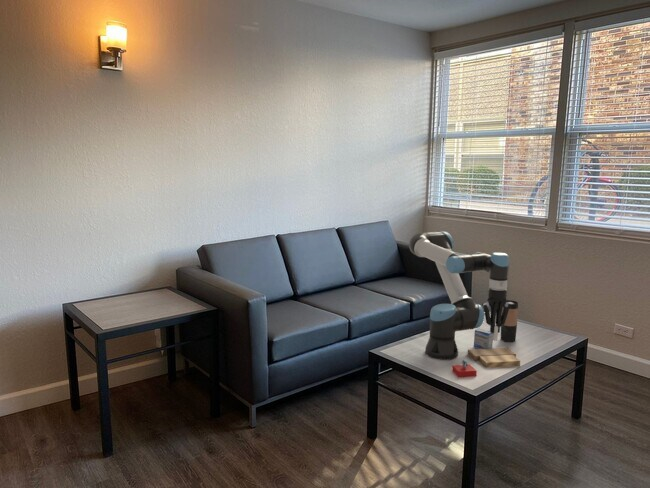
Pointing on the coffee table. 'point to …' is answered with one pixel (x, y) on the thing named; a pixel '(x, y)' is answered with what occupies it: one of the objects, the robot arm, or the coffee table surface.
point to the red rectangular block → (464, 370)
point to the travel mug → (510, 323)
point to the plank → (499, 361)
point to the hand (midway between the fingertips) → (494, 339)
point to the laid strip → (489, 352)
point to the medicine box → (483, 339)
